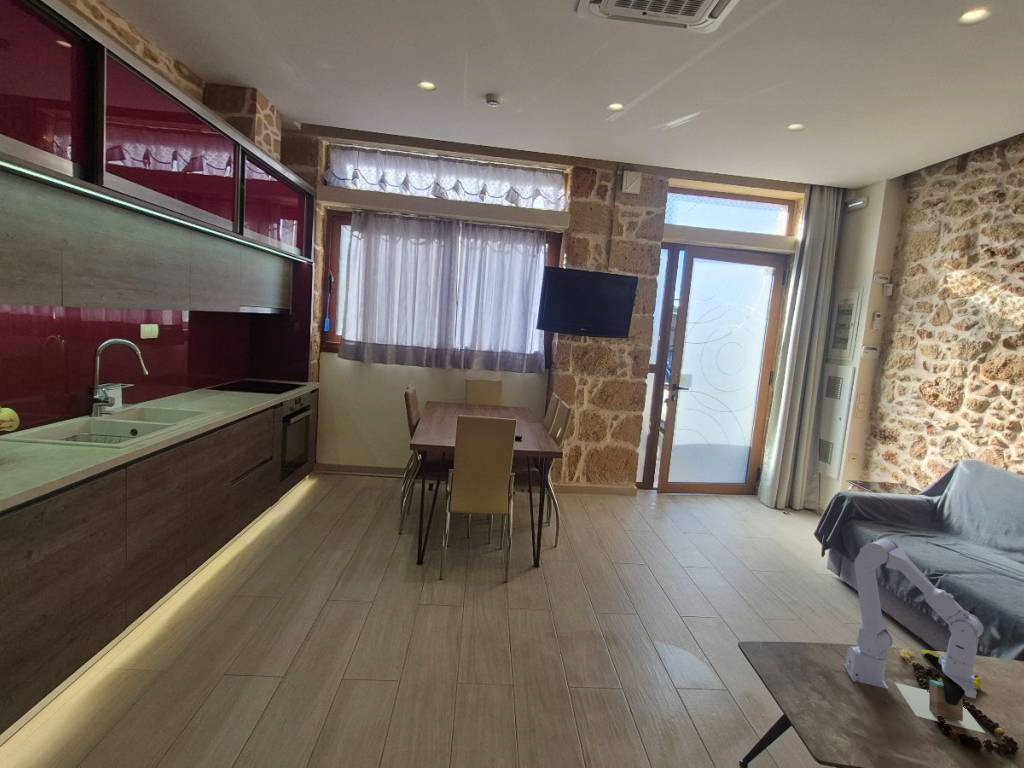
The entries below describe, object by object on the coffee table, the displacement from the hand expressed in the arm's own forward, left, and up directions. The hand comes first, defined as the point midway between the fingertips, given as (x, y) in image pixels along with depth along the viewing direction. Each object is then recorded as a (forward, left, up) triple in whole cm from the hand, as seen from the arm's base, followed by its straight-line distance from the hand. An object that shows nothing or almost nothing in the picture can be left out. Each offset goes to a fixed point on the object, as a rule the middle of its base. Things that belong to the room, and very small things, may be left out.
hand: (950, 703), depth 140 cm
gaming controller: (+12, +23, -6) cm, 27 cm away
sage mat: (0, +6, -6) cm, 8 cm away
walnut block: (0, +1, -5) cm, 5 cm away
